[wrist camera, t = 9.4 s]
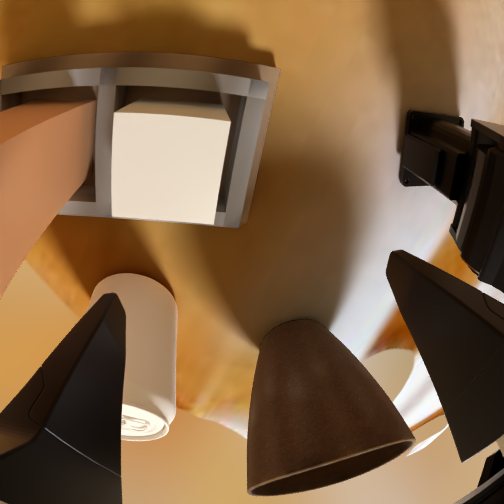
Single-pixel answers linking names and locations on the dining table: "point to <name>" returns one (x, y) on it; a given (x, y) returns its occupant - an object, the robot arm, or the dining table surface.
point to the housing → (155, 87)
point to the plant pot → (316, 414)
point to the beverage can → (146, 354)
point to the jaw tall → (39, 171)
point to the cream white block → (168, 160)
